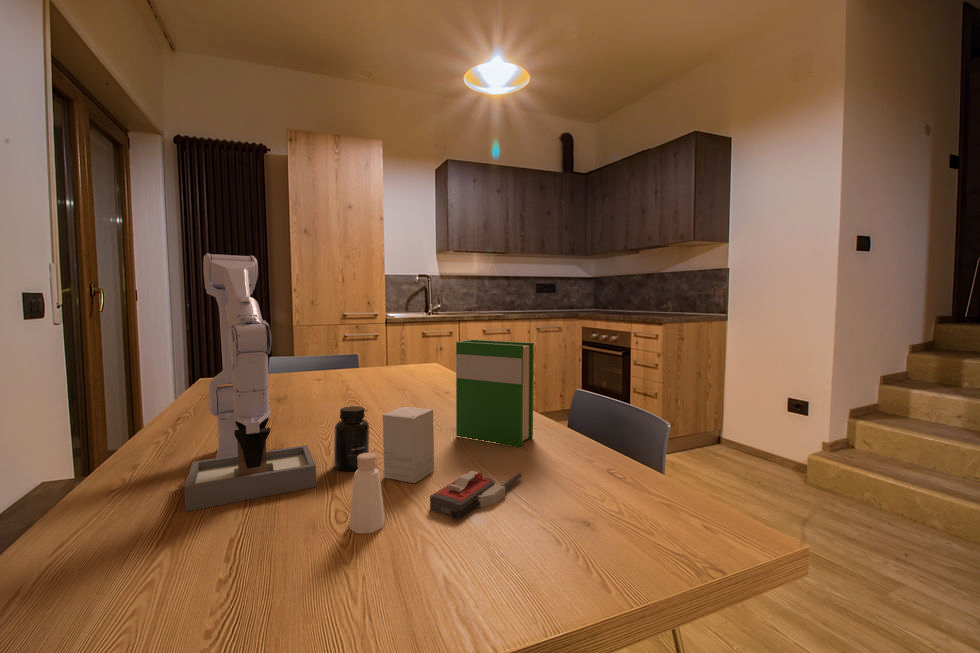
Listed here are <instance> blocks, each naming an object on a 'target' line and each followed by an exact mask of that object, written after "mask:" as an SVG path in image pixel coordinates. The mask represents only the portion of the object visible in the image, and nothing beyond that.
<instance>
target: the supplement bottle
mask: <svg viewBox="0 0 980 653" xmlns="http://www.w3.org/2000/svg"><path fill="white" fill-rule="evenodd" d="M365 417H366V415H365V407H364V406H355V405H353V406H345V407H341V408H340V410H339V419H340V420H339V421H338V422H337V423H336V424H335V426H334V452H333V453H334V459H333V460H334V461H333V462H334V467H335V469H337V470H338V471H342V472H343V471H344V472H353V471H355V472H356V470H358V466H357V464H358V461H357V456H358V455H360V454H363V453H370V452H369V451H370V424H369V422H368V421H367V420H365V419H364V418H365Z"/></svg>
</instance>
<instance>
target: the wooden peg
mask: <svg viewBox="0 0 980 653" xmlns="http://www.w3.org/2000/svg"><path fill="white" fill-rule="evenodd" d="M237 444H238V473H239V476H245V475H251V474H257V473H263V472H267V463H266V451H267V441H266V442H265V445H264V450H263V456H262V462H261V465H260V467H255V468H249V469H248V468H247V466H246V463H245V459H244V455H243V451H242V448H241V445H240V443H239V442H238V440H237Z"/></svg>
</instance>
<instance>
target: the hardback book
mask: <svg viewBox="0 0 980 653" xmlns="http://www.w3.org/2000/svg"><path fill="white" fill-rule="evenodd" d="M455 343H456V344H455V349H456V350H455V358H456V360H455V365H456V366H455V370H456V371H455V374H456V375H455V376H456V377H455V378H456V380H455V381H456V382H455V386H456V389H455V390H456V393H455V394H456V395H455V397H456V398H455V399H456V400H455V401H456V405H455V406H456V408H455V409H456V411H455V413H456V419H455V420H456V423H455V425H456V428H455V429H456V431H455V432H456V436H461V437H467V438H472V439H478V440H484V441H490V442H496V443H500V444H499V445H501V444H505V445H504V446H507V445H511V446H510V447H513V446H516V447H515V448H518V447H522V446H523V445H524V441H525V440H528V439H532V438H533V439H534V364H535V363H534V356H535V355H534V354H535V353H534V350H535V346H534V343H535V342H527V341H525V342H524V341H522V342H521V341H507V340H506V341H505V340H490V339H489V340H485V339H467V340H460V341H456V342H455ZM456 436H455V437H456ZM527 438H528V439H527ZM533 439H532V440H533ZM523 447H524V446H523ZM523 447H522V448H523Z"/></svg>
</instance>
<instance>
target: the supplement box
mask: <svg viewBox="0 0 980 653" xmlns="http://www.w3.org/2000/svg"><path fill="white" fill-rule="evenodd" d="M382 431H383V432H382V437H383V439H382V440H383V441H382V442H383V477H384V479H390V480H394V481H395V480H396V481H400V482H404V483H410V484H416V483H417V482H419V481H421V480H423V479H424V478H425V477H427V476H428V475H430V474H432V473H433V472H434V471H435V452H434V451H435V447H434V446H435V445H434V444H435V442H434V441H435V439H434V435H435V434H434V409H429V408H421V407H419V408H418V407H414V406H413V407H411V406H402V407H399V408H397V409H394V410H391V411H389V412H386V413H384V414H382Z"/></svg>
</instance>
